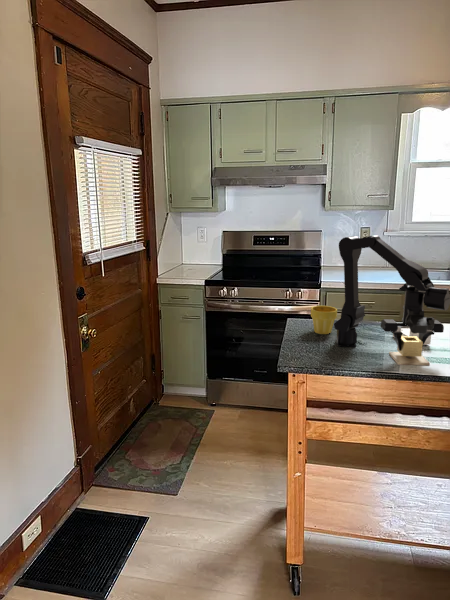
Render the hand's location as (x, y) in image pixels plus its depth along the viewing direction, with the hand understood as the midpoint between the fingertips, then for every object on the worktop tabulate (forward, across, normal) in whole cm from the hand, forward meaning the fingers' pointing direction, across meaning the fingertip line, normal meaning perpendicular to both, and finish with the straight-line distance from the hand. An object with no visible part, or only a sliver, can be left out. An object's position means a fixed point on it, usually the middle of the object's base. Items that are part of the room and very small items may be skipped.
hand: (409, 350), depth 151 cm
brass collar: (+1, 0, 0) cm, 1 cm away
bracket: (+4, +7, +20) cm, 21 cm away
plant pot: (+4, -24, +30) cm, 39 cm away
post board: (+3, 0, 0) cm, 3 cm away
